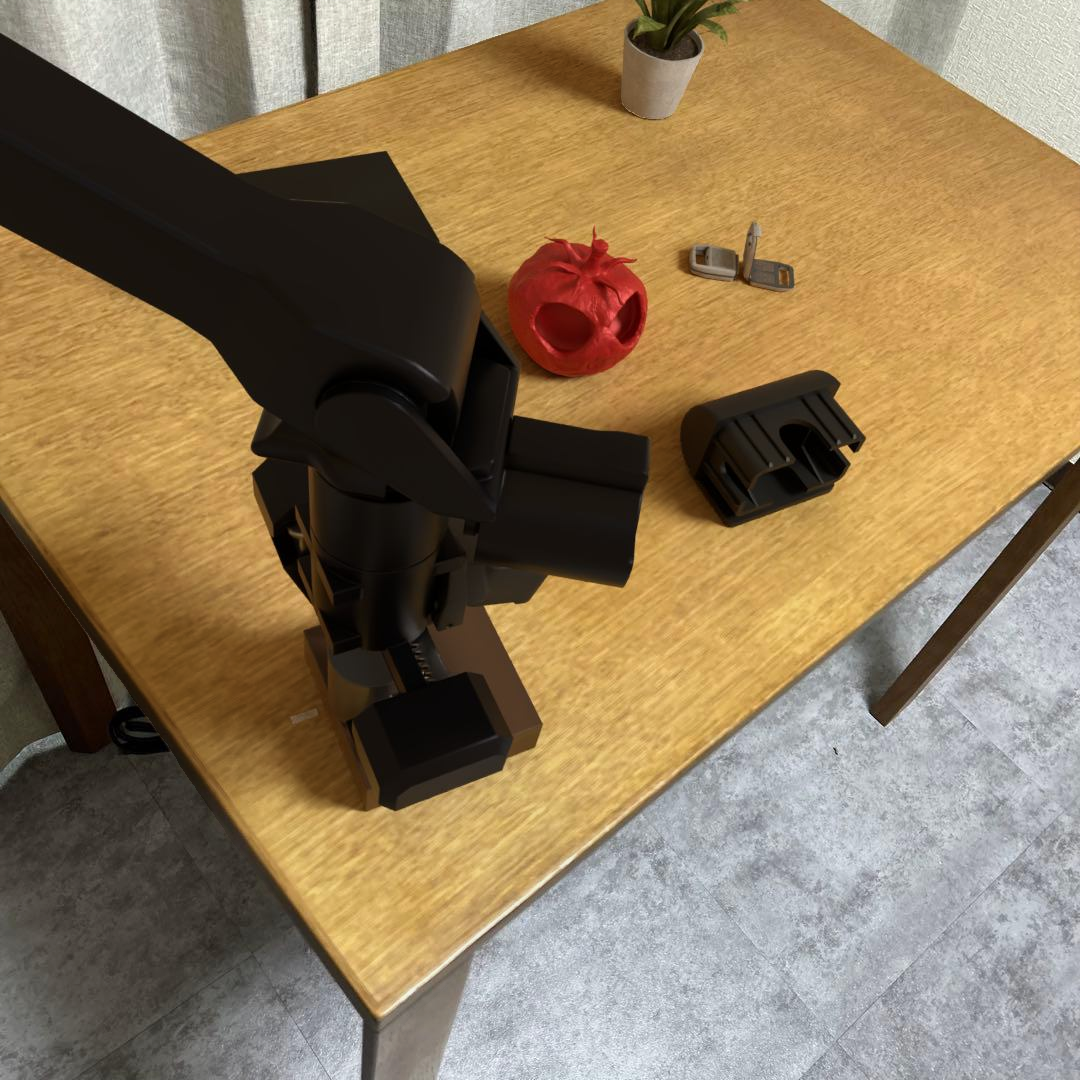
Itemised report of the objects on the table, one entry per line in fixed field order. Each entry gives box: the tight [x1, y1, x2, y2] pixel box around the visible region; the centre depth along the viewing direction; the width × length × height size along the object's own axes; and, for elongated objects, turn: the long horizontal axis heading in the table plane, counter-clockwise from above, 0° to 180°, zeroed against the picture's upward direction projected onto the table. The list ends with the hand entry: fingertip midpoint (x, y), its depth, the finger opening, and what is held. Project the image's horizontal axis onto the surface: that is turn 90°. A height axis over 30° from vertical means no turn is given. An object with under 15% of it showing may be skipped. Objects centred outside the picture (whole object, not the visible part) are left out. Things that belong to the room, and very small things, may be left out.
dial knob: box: [327, 641, 417, 725], centre depth 57 cm, size 4×4×5 cm
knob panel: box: [289, 606, 544, 812], centre depth 61 cm, size 12×10×3 cm
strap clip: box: [688, 221, 796, 292], centre depth 87 cm, size 8×3×4 cm, turn 85°
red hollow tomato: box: [506, 225, 649, 378], centre depth 77 cm, size 10×10×9 cm
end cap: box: [679, 369, 867, 528], centre depth 74 cm, size 10×7×7 cm
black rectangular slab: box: [235, 150, 441, 243], centre depth 81 cm, size 19×12×4 cm, turn 115°
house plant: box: [620, 0, 755, 119], centre depth 93 cm, size 14×14×16 cm
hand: (369, 689), depth 59 cm, fingers open, 7 cm apart
